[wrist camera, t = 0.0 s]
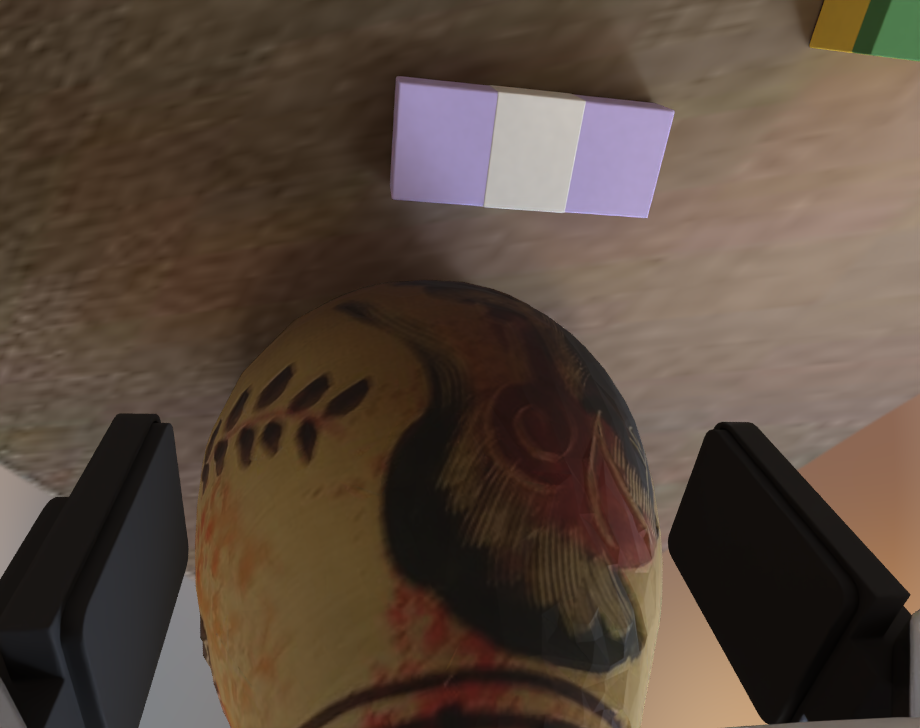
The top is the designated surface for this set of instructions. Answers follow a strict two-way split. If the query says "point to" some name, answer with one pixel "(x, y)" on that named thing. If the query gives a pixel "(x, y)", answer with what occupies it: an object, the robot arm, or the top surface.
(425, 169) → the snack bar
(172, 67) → the top surface
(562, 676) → the ceramic jug
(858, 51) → the sponge
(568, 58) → the top surface
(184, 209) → the top surface
